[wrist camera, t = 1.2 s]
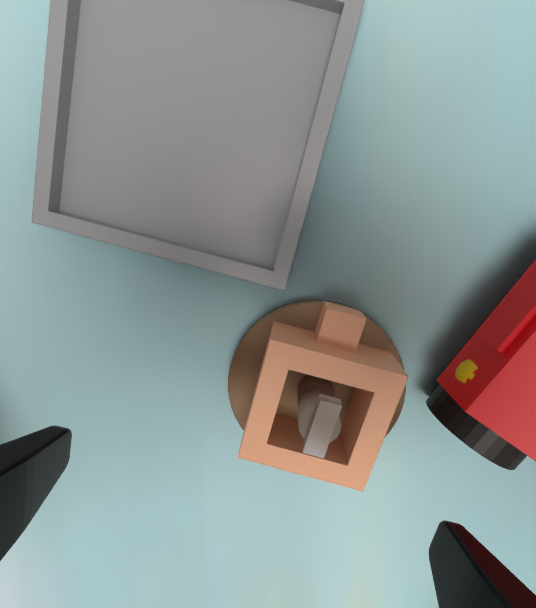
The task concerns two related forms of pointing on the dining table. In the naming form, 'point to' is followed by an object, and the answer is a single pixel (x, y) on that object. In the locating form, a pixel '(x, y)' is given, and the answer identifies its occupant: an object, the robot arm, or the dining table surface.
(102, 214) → the tray
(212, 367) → the dining table surface
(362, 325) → the ring
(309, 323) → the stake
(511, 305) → the toy truck
